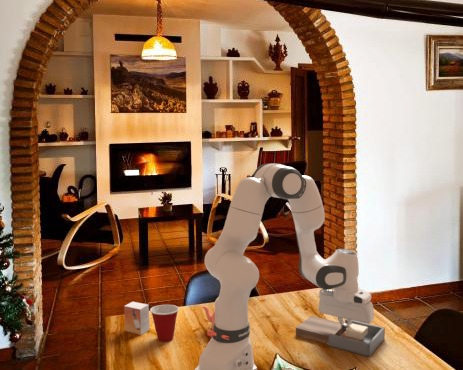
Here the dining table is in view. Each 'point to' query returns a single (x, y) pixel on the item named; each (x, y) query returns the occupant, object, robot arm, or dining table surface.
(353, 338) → the tile front
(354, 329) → the tile rear
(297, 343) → the dining table surface
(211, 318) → the pink branching coral
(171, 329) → the plastic cup
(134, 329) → the small box
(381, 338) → the box
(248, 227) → the robot arm
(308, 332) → the plate
